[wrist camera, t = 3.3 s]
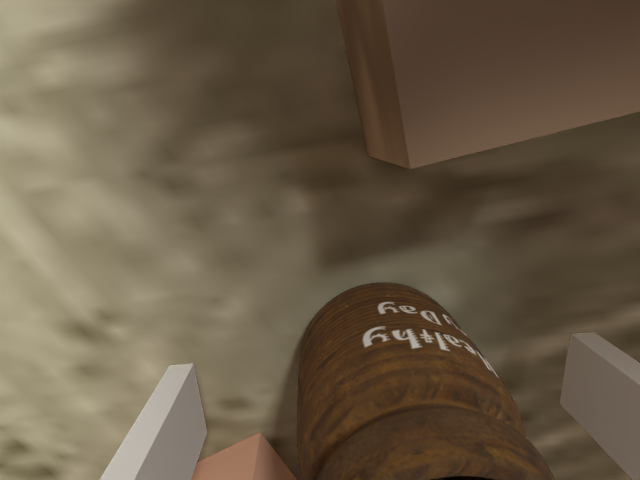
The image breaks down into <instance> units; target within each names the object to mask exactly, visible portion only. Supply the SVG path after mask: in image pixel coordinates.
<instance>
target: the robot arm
mask: <svg viewBox="0 0 640 480" xmlns="http://www.w3.org/2000/svg"><path fill="white" fill-rule="evenodd" d="M560 405H561V406H562V407H563V408H564V409H565V410H566V411H567V412H568V413H569V414H570V415H571V416H572V417H573V418H574V419H575V420H576V421H577V422H578V423H579V424H580V426H581V427H582V428H583V429H584V430H585V431H586V432H587V433H588V434H589V435H590V436H591V437H592V438H593V439H594V440H595V441H596V442H597V443H598V444H599V445H600V447H601V448H602V449H603V450H604V451H605V452H606V453H607V454H608V455H609V456H610V457H611V458H612V459H613V460H614V461H615V462H616V463H617V464H618V465H619V466H620V468H621V469H622V470H623V471H624V472H625V473H626V474H627V475H628V476H629V477H630V478H631V479H632V480H640V363H639V362H638V361H636V360H635V359H633V358H632V357H630V356H629V355H628V354H626V353H625V352H623V351H622V350H620V349H619V348H617V347H616V346H614V345H613V344H611V343H610V342H608V341H607V340H605V339H604V338H602V337H601V336H599V335H598V334H596V333H595V332H583V333H570V339H569V345H568V352H567V358H566V365H565V371H564V377H563V384H562V390H561V397H560ZM206 435H207V428H206V423H205V418H204V413H203V408H202V403H201V398H200V393H199V388H198V383H197V378H196V373H195V368H194V363H193V364H180V365H169V367H168V369H167V370H166V372H165V374H164V375H163V377H162V378H161V380H160V382H159V383H158V385H157V387H156V388H155V390H154V391H153V393H152V395H151V396H150V398H149V400H148V401H147V403H146V405H145V406H144V408H143V409H142V411H141V413H140V414H139V416H138V418H137V419H136V421H135V423H134V424H133V426H132V427H131V429H130V431H129V432H128V434H127V436H126V437H125V439H124V441H123V442H122V444H121V445H120V447H119V449H118V450H117V452H116V454H115V455H114V457H113V459H112V460H111V462H110V463H109V465H108V467H107V468H106V470H105V472H104V473H103V475H102V477H101V478H100V480H191V479H192V476H193V473H194V470H195V467H196V464H197V461H198V458H199V455H200V452H201V449H202V446H203V443H204V441H205V438H206Z"/></svg>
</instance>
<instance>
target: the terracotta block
mask: <svg viewBox="0 0 640 480" xmlns="http://www.w3.org/2000/svg"><path fill="white" fill-rule="evenodd" d="M191 480H297V479H296V478H295V476H294V475H293V474H292V472H291V471H290V470H289V469H288V467H287V466H286V465H285V463H284V462H283V461H282V459H281V458H280V457H279V456H278V454H277V453H276V452H275V450H274V449H273V448H272V446H271V445H270V444H269V443H268V441H267V440H266V439H265V437H264V436H263V435H262V433H261V432H259V433H257V434H255V435H253V436H251V437H249V438H247V439H245V440H243V441H241V442H238V443H236V444H234V445H232V446H230V447H228V448H226V449H224V450H222V451H220V452H218V453H216V454H213V455H211V456H209V457H207V458H205V459H203V460H201V461H199V462H197V464H196V467H195V470H194V473H193V476H192V479H191Z"/></svg>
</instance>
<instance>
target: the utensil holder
mask: <svg viewBox="0 0 640 480" xmlns="http://www.w3.org/2000/svg"><path fill="white" fill-rule="evenodd" d="M297 447H298V458H299V463H300V468H301V473H302V477H303V480H555V478H554V477H553V475H552V473H551V471H550V469H549V467H548V465H547V464H546V462H545V460H544V459H543V457H542V456H541V454H540V453H539V452H538V451H537V449H536V448H535V447H534V446H533V445H532V443H531V442H530V441H529V440H528V439H527V438H526V436H525V430H524V427H523V423H522V420H521V416H520V414H519V411H518V409H517V407H516V405H515V403H514V401H513V399H512V397H511V395H510V393H509V391H508V390H507V388H506V387H505V385H504V384H503V382H502V381H501V379H500V378H499V376H498V375H497V373H496V372H495V371H494V369H493V368H492V367H491V365H490V364H489V363H488V361H487V360H486V359H485V357H484V356H483V355H482V354H481V352H480V351H479V350H478V349H477V347H476V346H475V345H474V344H473V342H472V341H471V340H470V339H469V337H468V336H467V335H466V334H465V332H464V331H463V330H462V329H461V327H460V326H459V325H458V324H457V323H456V321H455V320H454V319H453V318H452V317H451V316H450V315H449V313H448V312H447V311H446V310H445V309H444V308H443V307H442V306H440V305H439V304H438V303H437V302H436V301H434V300H433V299H432V298H430V297H429V296H428V295H426V294H424V293H422V292H420V291H418V290H416V289H414V288H411V287H408V286H405V285H400V284H394V283H371V284H366V285H361V286H358V287H355V288H352V289H350V290H347V291H345V292H343V293H341V294H340V295H338V296H336V297H335V298H333V299H332V300H331V301H329V302H328V303H327V304H326V305H325V306H324V307H323V308H322V309H321V310H320V311H319V312H318V313H317V315H316V316H315V317H314V319H313V320H312V322H311V324H310V326H309V328H308V330H307V332H306V335H305V338H304V341H303V345H302V349H301V355H300V364H299V378H298V402H297Z"/></svg>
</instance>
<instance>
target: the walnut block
mask: <svg viewBox="0 0 640 480" xmlns="http://www.w3.org/2000/svg"><path fill="white" fill-rule="evenodd" d="M337 5H338V10H339V15H340V20H341V25H342V30H343V35H344V40H345V45H346V50H347V55H348V60H349V65H350V70H351V75H352V80H353V85H354V90H355V95H356V100H357V104H358V109H359V114H360V119H361V124H362V129H363V134H364V139H365V144H366V149H367V154H368V156H370V157H373V158H376V159H379V160H382V161H386V162H389V163H392V164H395V165H399V166H402V167H405V168H408V169H414V168H418V167H421V166H425V165H429V164H433V163H437V162H441V161H445V160H449V159H453V158H457V157H461V156H465V155H469V154H473V153H477V152H481V151H485V150H489V149H493V148H497V147H501V146H505V145H509V144H513V143H517V142H521V141H525V140H529V139H533V138H537V137H541V136H545V135H549V134H553V133H557V132H561V131H565V130H569V129H573V128H577V127H581V126H585V125H589V124H592V123H596V122H600V121H604V120H608V119H612V118H616V117H620V116H624V115H628V114H632V113H636V112H640V0H337Z"/></svg>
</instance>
